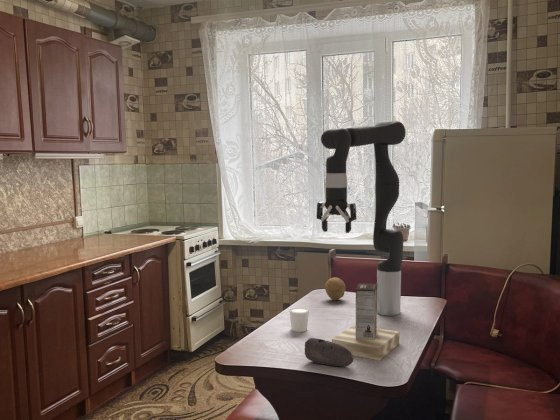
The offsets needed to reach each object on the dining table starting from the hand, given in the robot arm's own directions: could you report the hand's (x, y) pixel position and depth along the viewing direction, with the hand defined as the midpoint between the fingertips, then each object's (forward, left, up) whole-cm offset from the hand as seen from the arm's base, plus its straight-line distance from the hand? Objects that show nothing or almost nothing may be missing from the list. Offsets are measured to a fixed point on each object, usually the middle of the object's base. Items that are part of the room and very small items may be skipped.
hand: (336, 232), depth 195 cm
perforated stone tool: (+32, +13, -35) cm, 49 cm away
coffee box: (+13, +17, -31) cm, 38 cm away
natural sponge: (-38, -18, -35) cm, 55 cm away
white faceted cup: (+7, -11, -35) cm, 38 cm away
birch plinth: (+13, +17, -35) cm, 41 cm away
